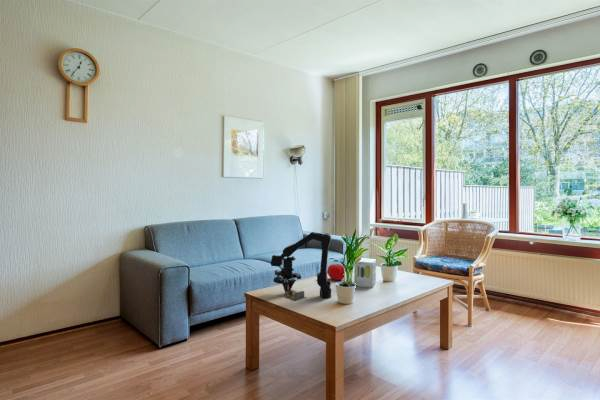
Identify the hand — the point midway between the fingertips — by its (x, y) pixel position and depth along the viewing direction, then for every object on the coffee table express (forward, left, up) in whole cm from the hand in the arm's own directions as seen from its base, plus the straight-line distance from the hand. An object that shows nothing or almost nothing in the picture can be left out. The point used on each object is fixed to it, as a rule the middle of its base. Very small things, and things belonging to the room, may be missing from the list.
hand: (287, 291), depth 226 cm
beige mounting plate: (-5, 0, -2) cm, 6 cm away
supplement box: (-17, -58, -3) cm, 61 cm away
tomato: (+5, -53, -3) cm, 53 cm away
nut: (-7, 0, -2) cm, 7 cm away
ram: (-1, 0, -1) cm, 2 cm away
